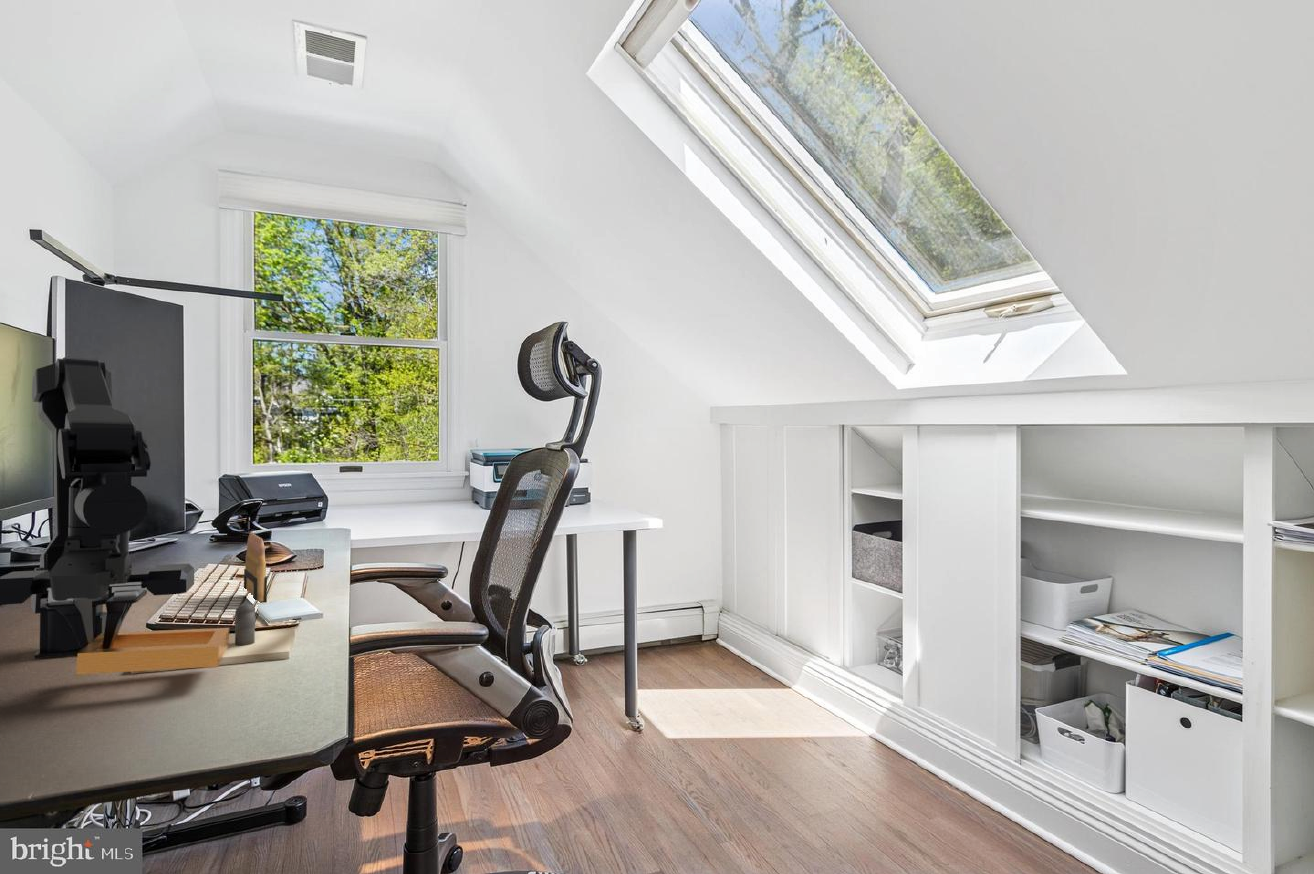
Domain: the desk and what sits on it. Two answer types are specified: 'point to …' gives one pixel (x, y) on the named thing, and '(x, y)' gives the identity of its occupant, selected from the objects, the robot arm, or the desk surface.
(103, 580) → the robot arm
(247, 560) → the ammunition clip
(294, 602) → the hard drive
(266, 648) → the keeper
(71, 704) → the desk surface
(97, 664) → the shallow wooden tray
